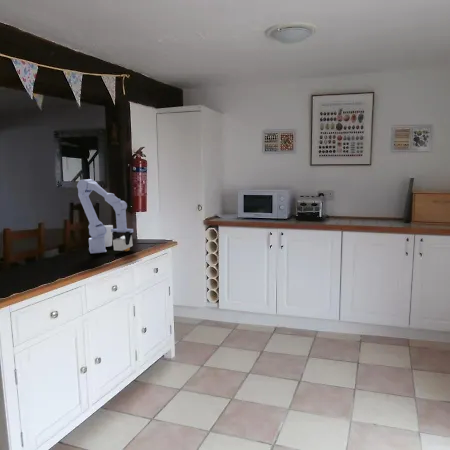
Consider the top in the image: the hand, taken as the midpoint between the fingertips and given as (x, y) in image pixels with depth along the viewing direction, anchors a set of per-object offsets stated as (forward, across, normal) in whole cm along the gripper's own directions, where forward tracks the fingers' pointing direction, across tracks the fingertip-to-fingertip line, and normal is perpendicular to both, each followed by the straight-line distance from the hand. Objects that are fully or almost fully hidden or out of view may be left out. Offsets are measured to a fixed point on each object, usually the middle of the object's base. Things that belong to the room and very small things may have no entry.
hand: (123, 244), depth 246 cm
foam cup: (+5, +25, -18) cm, 31 cm away
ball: (+3, 0, -3) cm, 4 cm away
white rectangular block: (+2, 0, 0) cm, 2 cm away
